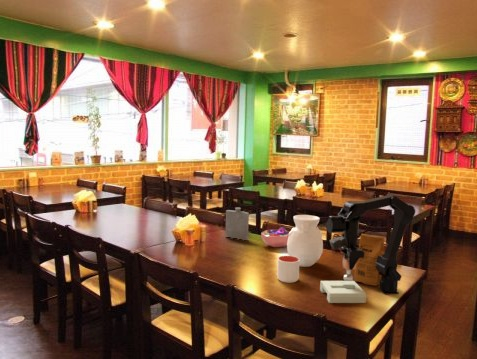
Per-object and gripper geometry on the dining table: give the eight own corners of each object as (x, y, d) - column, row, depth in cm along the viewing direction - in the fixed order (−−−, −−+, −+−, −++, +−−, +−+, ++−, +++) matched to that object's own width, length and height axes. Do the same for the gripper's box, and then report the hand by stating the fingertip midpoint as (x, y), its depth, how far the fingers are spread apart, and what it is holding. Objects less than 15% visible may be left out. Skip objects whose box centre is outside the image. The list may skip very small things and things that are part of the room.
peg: (351, 277, 174) (353, 257, 173) (355, 281, 170) (356, 260, 169) (341, 277, 174) (342, 256, 173) (344, 280, 170) (345, 260, 169)
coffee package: (359, 276, 196) (362, 231, 194) (385, 282, 188) (388, 236, 186) (350, 280, 188) (354, 234, 187) (376, 287, 180) (380, 238, 179)
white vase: (321, 271, 201) (324, 222, 199) (284, 267, 205) (286, 219, 202) (321, 260, 220) (324, 214, 217) (287, 257, 223) (289, 212, 220)
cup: (296, 276, 194) (297, 255, 193) (300, 283, 184) (301, 262, 183) (275, 275, 193) (276, 255, 192) (278, 283, 184) (279, 262, 182)
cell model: (255, 244, 248) (256, 226, 247) (283, 241, 256) (284, 223, 255) (269, 251, 233) (269, 232, 231) (298, 248, 241) (299, 229, 240)
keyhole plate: (353, 289, 179) (354, 280, 178) (365, 302, 165) (366, 293, 164) (320, 289, 178) (320, 280, 177) (329, 302, 164) (329, 293, 163)
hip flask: (224, 237, 261) (225, 206, 259) (227, 236, 265) (228, 205, 263) (246, 241, 254) (247, 209, 252) (249, 239, 258) (250, 208, 255)
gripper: (326, 226, 179) (324, 260, 180) (338, 237, 160) (336, 275, 162) (351, 226, 179) (349, 260, 181) (366, 237, 161) (364, 275, 162)
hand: (349, 267), depth 172 cm, fingers closed on peg, 4 cm apart
